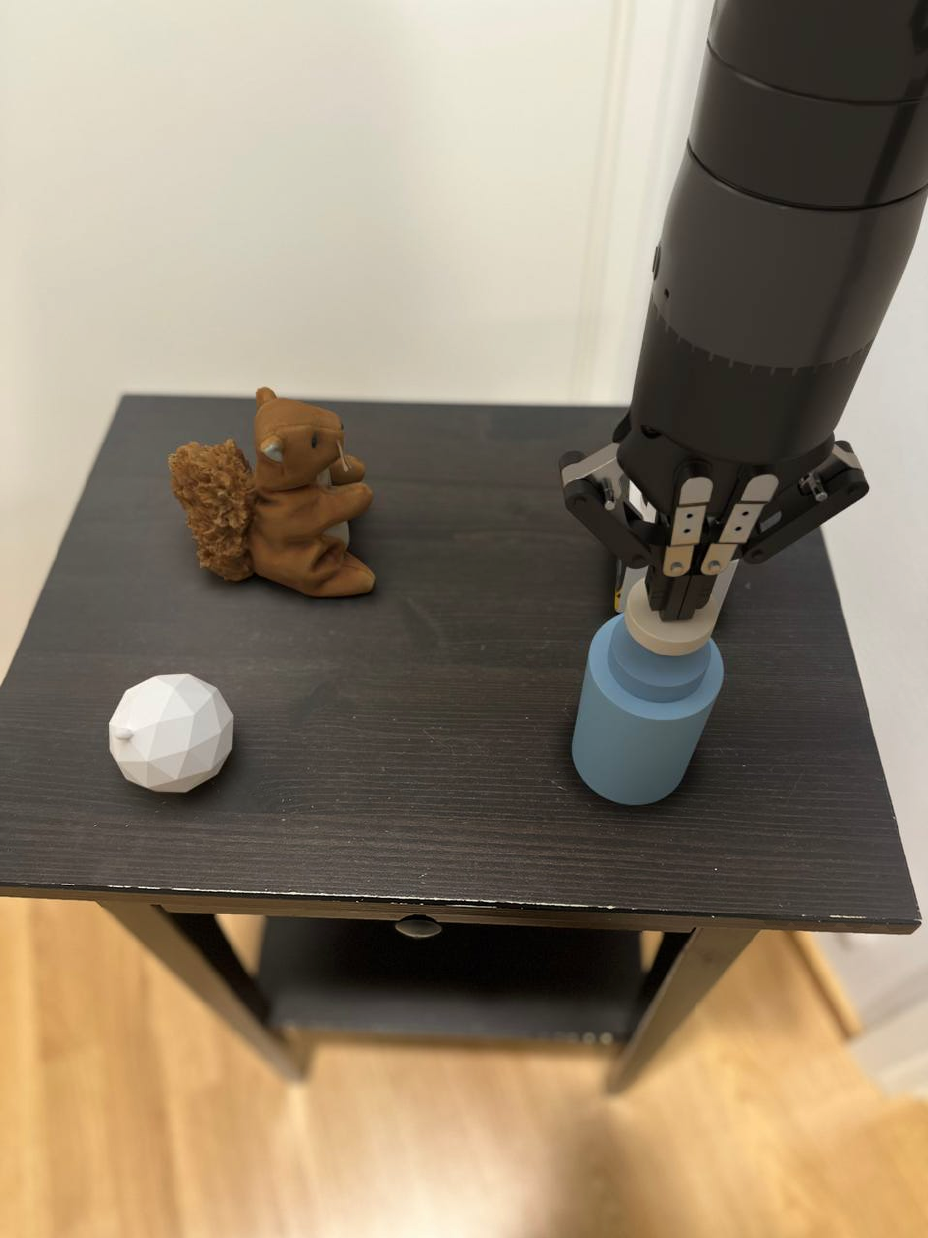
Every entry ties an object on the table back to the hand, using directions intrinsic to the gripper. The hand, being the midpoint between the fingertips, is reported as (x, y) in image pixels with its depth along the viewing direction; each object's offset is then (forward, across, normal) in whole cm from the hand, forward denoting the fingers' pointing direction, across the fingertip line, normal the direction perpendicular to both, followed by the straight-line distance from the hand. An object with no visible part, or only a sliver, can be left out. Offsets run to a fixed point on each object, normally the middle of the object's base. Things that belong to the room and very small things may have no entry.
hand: (672, 605), depth 43 cm
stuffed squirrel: (+16, -23, +18) cm, 33 cm away
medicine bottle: (+16, +5, +14) cm, 21 cm away
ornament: (+16, -28, +1) cm, 32 cm away
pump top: (+3, 0, 0) cm, 3 cm away
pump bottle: (+15, 0, 0) cm, 15 cm away
